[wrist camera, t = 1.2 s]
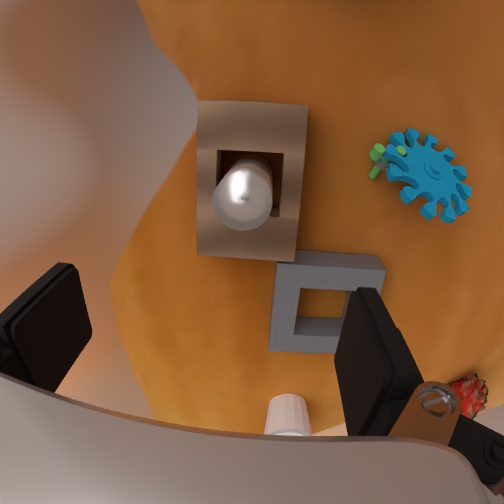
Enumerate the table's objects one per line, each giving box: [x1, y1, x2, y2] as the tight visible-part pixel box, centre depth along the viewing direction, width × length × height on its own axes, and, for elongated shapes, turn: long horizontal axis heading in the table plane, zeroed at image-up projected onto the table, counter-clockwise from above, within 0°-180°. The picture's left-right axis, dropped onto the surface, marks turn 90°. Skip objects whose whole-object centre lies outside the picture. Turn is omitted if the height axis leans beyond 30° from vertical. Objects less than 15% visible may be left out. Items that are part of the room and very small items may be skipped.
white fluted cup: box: [264, 394, 312, 436], centre depth 40 cm, size 7×7×7 cm
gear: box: [369, 128, 472, 223], centre depth 27 cm, size 11×6×10 cm
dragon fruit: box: [447, 373, 488, 420], centre depth 38 cm, size 8×8×12 cm
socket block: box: [268, 250, 386, 353], centre depth 34 cm, size 11×11×4 cm
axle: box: [213, 155, 272, 231], centre depth 25 cm, size 4×4×10 cm
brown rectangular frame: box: [197, 101, 309, 262], centre depth 28 cm, size 14×9×4 cm, turn 177°
